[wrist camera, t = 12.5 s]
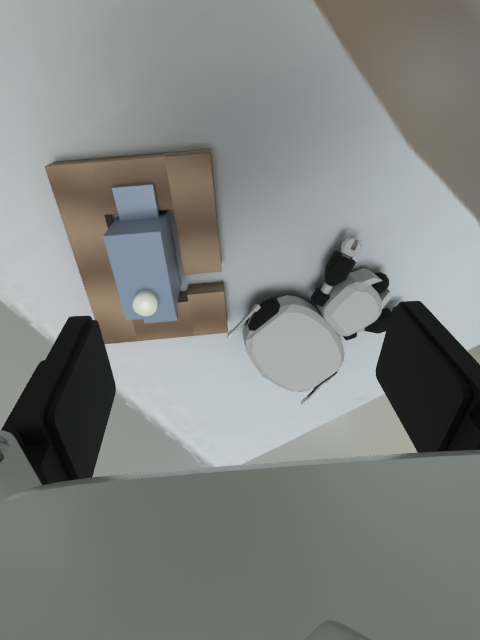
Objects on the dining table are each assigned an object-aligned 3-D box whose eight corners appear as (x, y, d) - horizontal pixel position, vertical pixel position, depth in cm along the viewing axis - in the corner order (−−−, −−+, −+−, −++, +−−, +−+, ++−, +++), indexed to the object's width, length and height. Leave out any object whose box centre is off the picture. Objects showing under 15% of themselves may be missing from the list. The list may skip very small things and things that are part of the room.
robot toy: (340, 218, 33) (218, 319, 37) (361, 232, 29) (222, 344, 33) (401, 305, 39) (289, 385, 42) (425, 326, 35) (300, 413, 38)
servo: (113, 180, 29) (88, 204, 23) (163, 176, 29) (151, 198, 23) (143, 308, 36) (130, 352, 30) (184, 305, 36) (179, 348, 30)
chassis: (54, 161, 28) (44, 166, 26) (209, 149, 28) (209, 153, 27) (108, 332, 37) (103, 344, 35) (227, 321, 37) (227, 332, 35)
